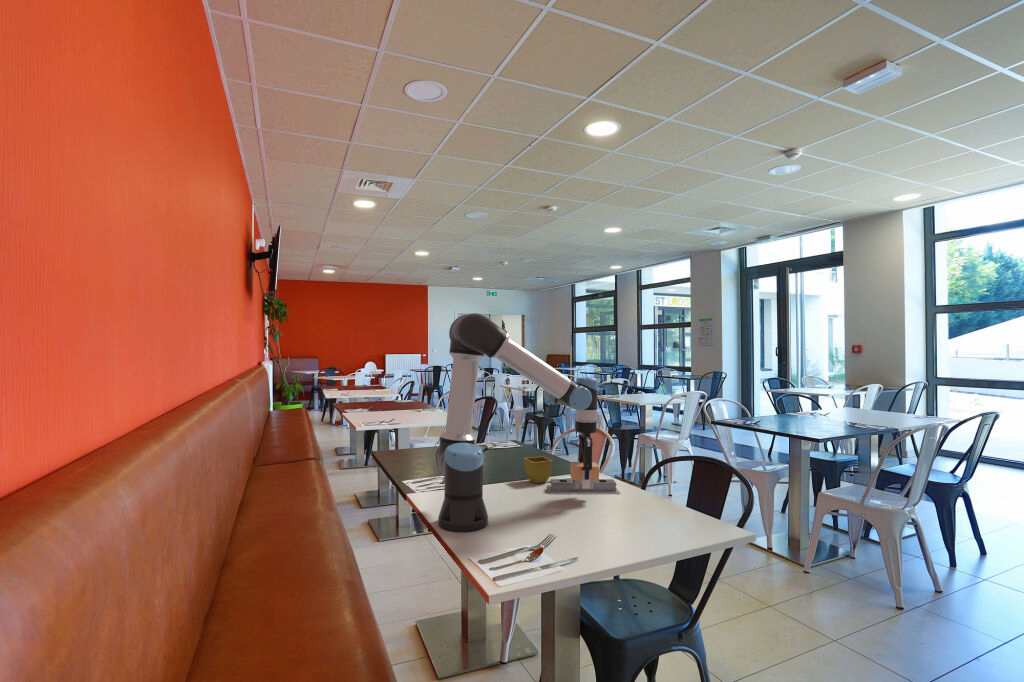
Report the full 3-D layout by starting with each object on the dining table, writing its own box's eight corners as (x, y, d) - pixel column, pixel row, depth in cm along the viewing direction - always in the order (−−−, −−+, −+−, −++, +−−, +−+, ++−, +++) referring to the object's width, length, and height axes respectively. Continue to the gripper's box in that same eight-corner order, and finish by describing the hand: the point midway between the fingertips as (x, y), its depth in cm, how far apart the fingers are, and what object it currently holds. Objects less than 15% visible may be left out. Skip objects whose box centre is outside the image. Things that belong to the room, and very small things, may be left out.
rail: (620, 493, 191) (620, 484, 191) (550, 493, 190) (550, 484, 190) (613, 486, 201) (614, 477, 201) (547, 486, 200) (547, 477, 200)
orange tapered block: (594, 485, 188) (595, 462, 188) (598, 490, 181) (599, 466, 181) (569, 484, 188) (570, 461, 188) (572, 490, 181) (573, 466, 181)
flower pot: (523, 480, 209) (523, 457, 209) (542, 477, 213) (542, 456, 213) (533, 485, 201) (533, 462, 201) (552, 483, 205) (553, 460, 205)
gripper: (602, 425, 175) (600, 493, 175) (591, 417, 195) (589, 478, 195) (580, 424, 175) (578, 493, 175) (571, 416, 195) (569, 478, 194)
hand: (584, 485), depth 185 cm, fingers closed on orange tapered block, 7 cm apart
